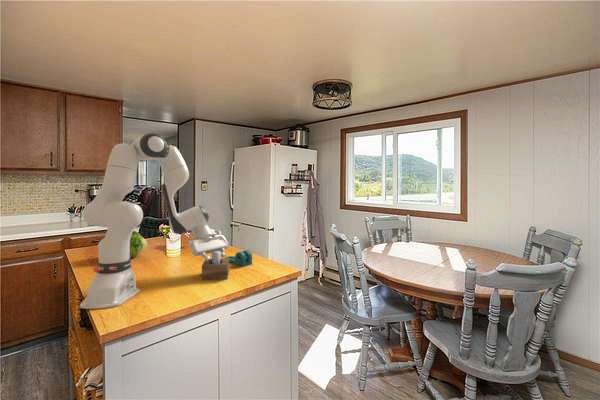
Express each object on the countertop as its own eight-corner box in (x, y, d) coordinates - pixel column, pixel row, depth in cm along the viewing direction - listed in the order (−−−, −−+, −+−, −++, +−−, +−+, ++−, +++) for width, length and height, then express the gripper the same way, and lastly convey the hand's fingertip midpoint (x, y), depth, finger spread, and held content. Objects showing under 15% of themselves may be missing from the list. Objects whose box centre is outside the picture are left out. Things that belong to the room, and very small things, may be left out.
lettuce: (152, 258, 183) (153, 228, 186) (111, 260, 165) (113, 228, 167) (137, 257, 195) (138, 229, 197) (96, 260, 176) (98, 229, 178)
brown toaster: (227, 279, 145) (227, 265, 145) (201, 280, 143) (201, 265, 143) (229, 271, 157) (229, 258, 156) (205, 272, 155) (205, 259, 155)
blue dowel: (219, 276, 148) (219, 253, 148) (211, 277, 148) (211, 253, 147) (220, 274, 152) (220, 251, 151) (212, 274, 152) (212, 251, 151)
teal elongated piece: (252, 264, 171) (252, 251, 170) (243, 267, 166) (243, 253, 165) (231, 259, 182) (231, 246, 181) (222, 261, 177) (222, 248, 176)
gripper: (189, 235, 144) (201, 259, 139) (222, 230, 161) (235, 250, 156) (184, 243, 147) (196, 266, 142) (217, 237, 164) (229, 257, 159)
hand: (216, 258), depth 149 cm, fingers open, 8 cm apart
